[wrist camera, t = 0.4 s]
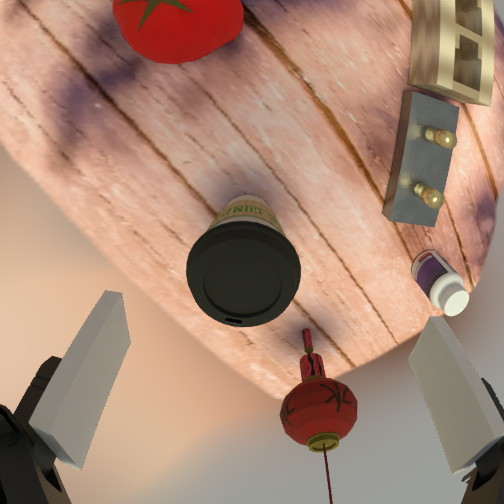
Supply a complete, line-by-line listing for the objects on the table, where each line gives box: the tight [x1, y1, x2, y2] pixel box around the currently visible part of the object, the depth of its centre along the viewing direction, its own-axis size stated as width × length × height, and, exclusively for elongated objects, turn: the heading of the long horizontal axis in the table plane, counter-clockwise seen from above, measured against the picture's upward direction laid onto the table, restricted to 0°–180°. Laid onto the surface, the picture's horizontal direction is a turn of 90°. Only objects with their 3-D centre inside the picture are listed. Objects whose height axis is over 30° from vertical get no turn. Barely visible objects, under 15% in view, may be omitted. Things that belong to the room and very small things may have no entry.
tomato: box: [113, 0, 244, 64], centre depth 22 cm, size 12×12×13 cm
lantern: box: [280, 329, 357, 504], centre depth 33 cm, size 10×10×30 cm
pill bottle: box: [412, 250, 469, 316], centre depth 37 cm, size 5×5×10 cm
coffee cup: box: [186, 195, 301, 327], centre depth 32 cm, size 10×10×15 cm
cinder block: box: [408, 0, 494, 107], centre depth 23 cm, size 16×8×7 cm, turn 175°
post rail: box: [382, 91, 459, 227], centre depth 31 cm, size 16×7×6 cm, turn 175°
